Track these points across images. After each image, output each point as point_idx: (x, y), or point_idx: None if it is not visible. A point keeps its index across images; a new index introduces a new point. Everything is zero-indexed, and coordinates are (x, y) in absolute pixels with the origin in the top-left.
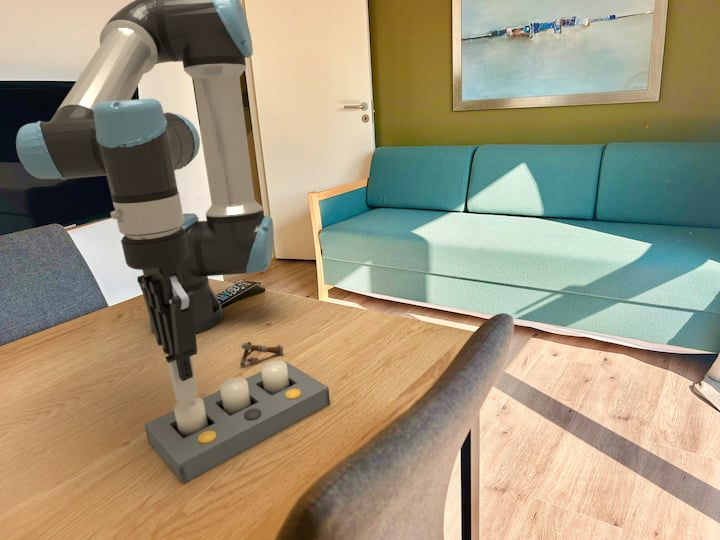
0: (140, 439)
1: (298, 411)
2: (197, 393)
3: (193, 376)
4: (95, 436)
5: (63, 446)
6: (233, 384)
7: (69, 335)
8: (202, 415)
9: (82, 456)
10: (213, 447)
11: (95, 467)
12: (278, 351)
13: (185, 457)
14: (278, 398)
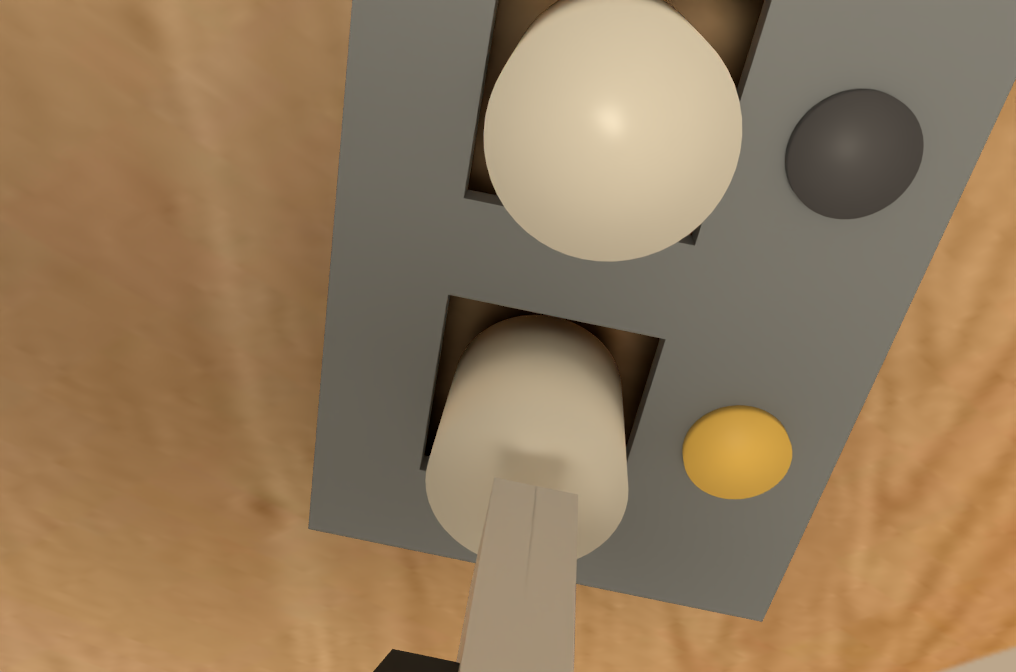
0: (289, 465)
1: None
2: (575, 502)
3: (573, 633)
4: (104, 541)
5: (82, 623)
6: (603, 139)
7: None
8: (623, 430)
9: (211, 622)
10: (825, 474)
11: (325, 631)
12: None
13: (749, 582)
14: None
